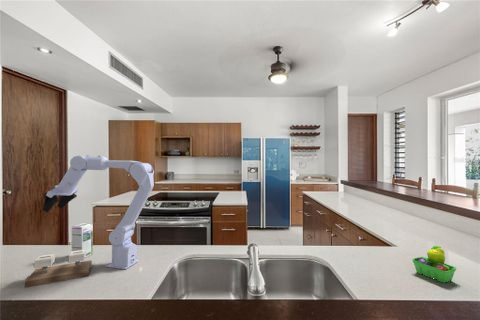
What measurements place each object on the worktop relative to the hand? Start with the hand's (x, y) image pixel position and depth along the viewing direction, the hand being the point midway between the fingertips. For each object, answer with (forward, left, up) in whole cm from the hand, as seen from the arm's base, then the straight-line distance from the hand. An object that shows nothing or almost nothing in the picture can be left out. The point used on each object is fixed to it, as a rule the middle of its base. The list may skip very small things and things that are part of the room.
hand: (52, 208), depth 94 cm
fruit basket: (-152, -29, -24) cm, 156 cm away
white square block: (-16, +3, -18) cm, 25 cm away
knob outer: (-9, +9, -18) cm, 22 cm away
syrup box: (-5, -10, -24) cm, 26 cm away
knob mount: (-13, +6, -23) cm, 27 cm away
